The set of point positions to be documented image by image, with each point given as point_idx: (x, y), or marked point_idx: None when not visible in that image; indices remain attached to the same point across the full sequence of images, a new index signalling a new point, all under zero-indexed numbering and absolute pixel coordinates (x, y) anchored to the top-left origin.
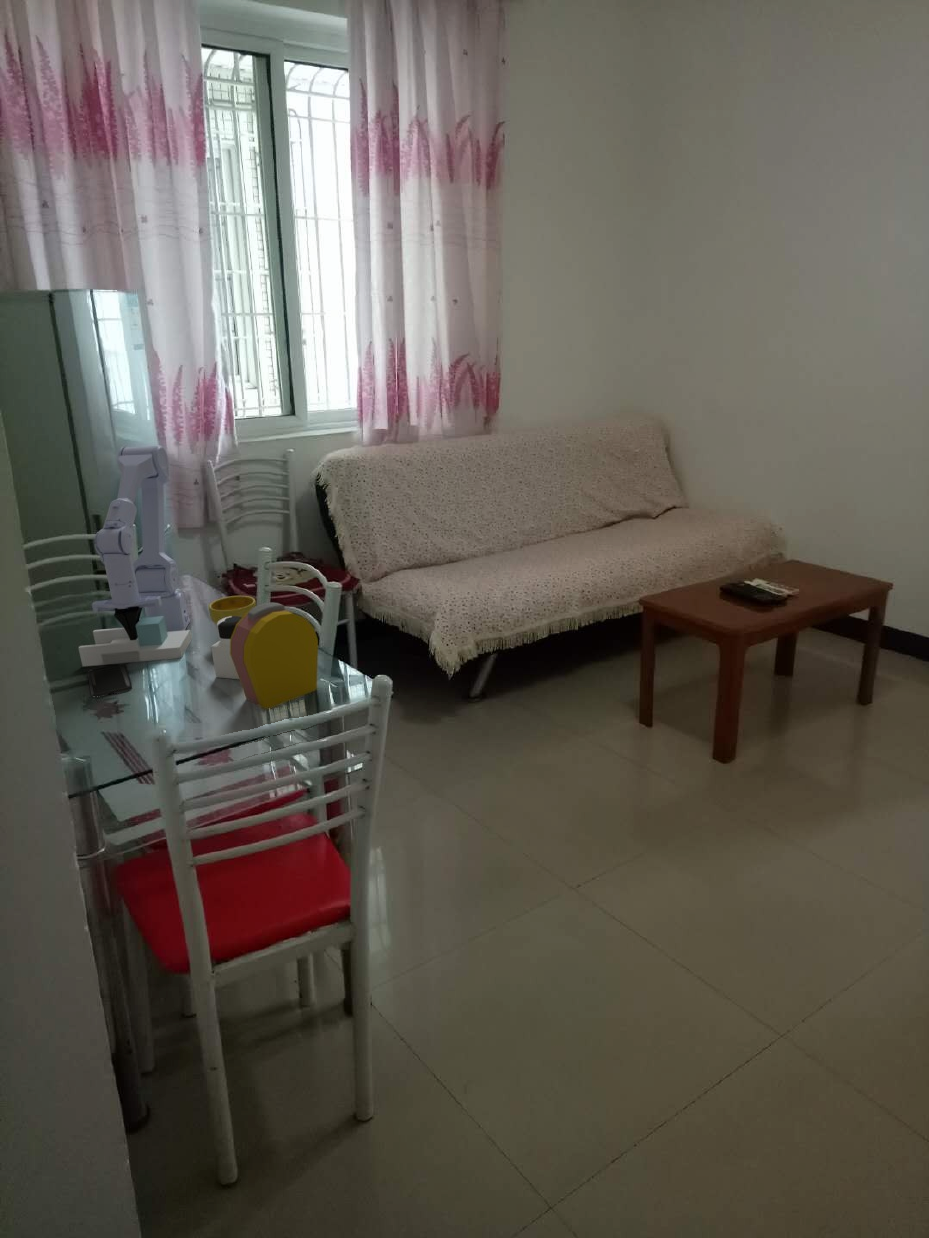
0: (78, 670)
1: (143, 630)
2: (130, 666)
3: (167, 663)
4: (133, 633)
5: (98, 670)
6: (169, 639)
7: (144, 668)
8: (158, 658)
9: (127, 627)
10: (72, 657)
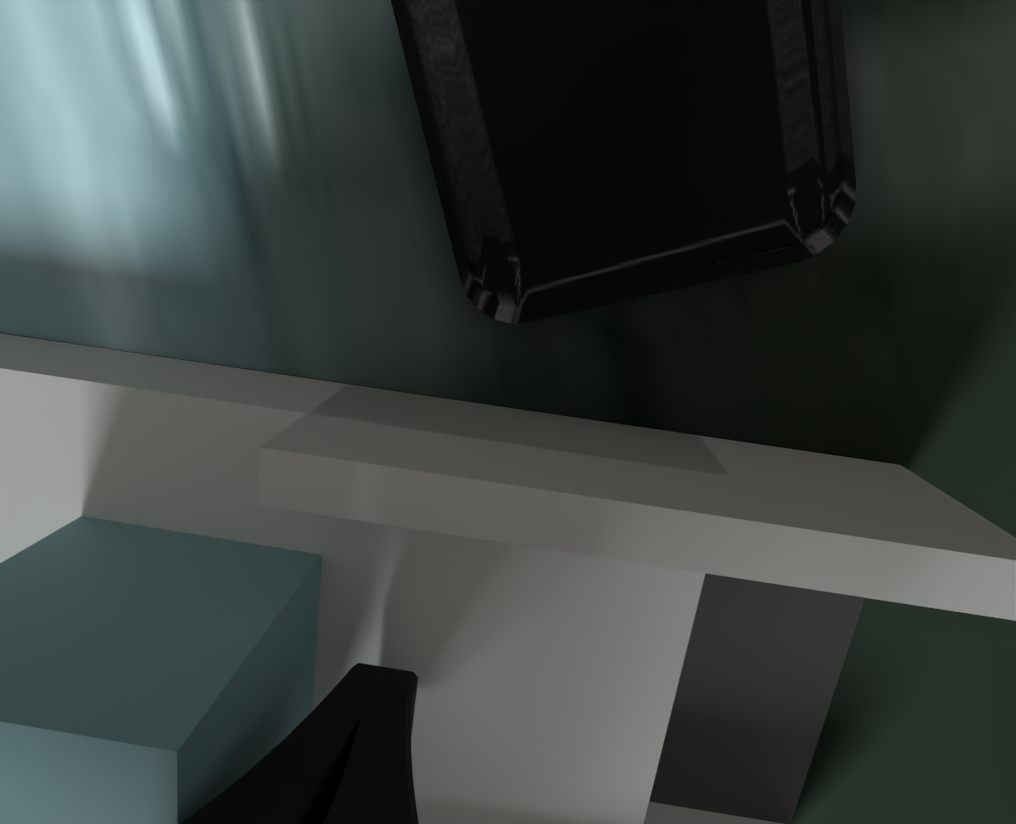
0: (940, 377)
1: (132, 662)
2: (424, 285)
3: (66, 225)
4: (328, 711)
5: (734, 215)
6: None
7: (269, 169)
8: (171, 363)
9: (357, 796)
10: (996, 729)
